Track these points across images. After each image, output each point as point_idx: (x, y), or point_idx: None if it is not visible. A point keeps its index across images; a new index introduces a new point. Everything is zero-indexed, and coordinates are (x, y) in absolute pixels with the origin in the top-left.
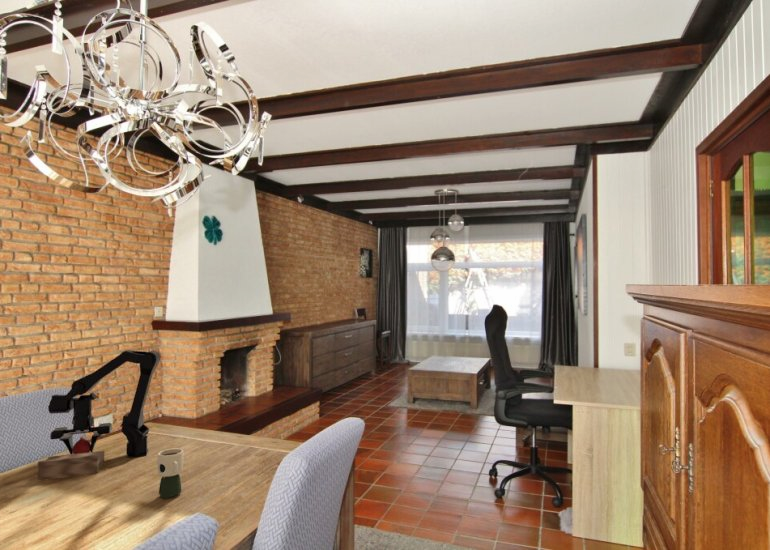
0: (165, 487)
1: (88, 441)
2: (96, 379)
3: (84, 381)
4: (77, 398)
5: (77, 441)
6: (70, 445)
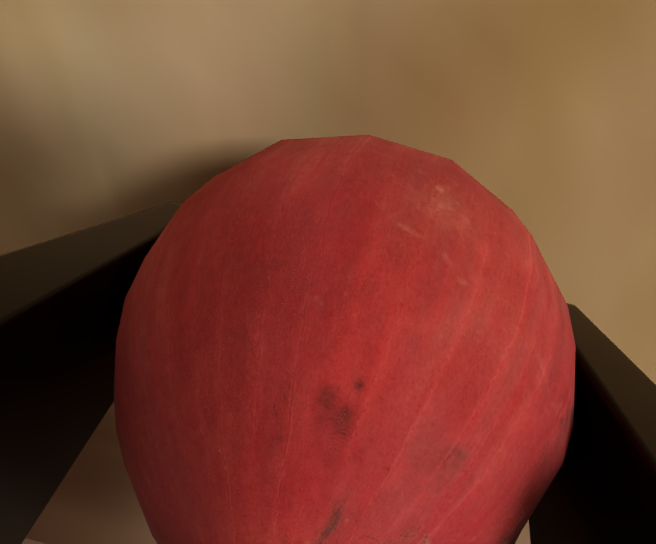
0: None
1: (510, 532)
2: None
3: None
4: None
5: (151, 517)
6: (44, 508)
